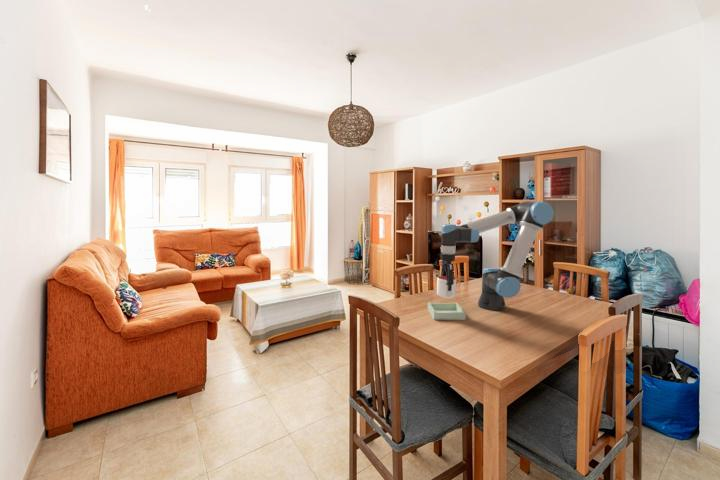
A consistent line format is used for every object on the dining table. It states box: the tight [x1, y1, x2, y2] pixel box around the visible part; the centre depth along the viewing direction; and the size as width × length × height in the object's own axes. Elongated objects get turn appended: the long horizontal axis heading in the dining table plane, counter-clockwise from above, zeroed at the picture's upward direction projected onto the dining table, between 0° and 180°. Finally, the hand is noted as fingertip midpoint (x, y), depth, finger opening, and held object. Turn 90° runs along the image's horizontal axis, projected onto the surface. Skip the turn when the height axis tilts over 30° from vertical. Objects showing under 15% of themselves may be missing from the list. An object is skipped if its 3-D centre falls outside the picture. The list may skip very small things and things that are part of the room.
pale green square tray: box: [427, 301, 467, 321], centre depth 178 cm, size 16×16×4 cm
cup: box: [436, 275, 457, 299], centre depth 177 cm, size 10×10×10 cm
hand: (446, 293), depth 177 cm, fingers closed on cup, 10 cm apart
